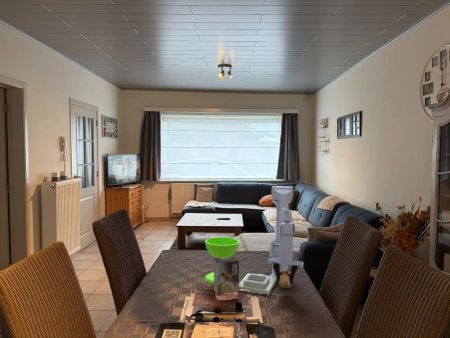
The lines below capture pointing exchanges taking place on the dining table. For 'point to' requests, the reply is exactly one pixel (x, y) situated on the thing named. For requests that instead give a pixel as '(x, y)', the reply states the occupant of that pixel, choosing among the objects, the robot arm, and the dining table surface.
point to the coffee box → (226, 275)
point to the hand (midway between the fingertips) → (285, 281)
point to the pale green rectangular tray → (258, 283)
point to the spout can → (285, 279)
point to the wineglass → (220, 250)
